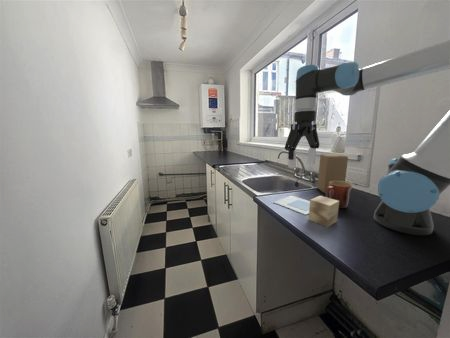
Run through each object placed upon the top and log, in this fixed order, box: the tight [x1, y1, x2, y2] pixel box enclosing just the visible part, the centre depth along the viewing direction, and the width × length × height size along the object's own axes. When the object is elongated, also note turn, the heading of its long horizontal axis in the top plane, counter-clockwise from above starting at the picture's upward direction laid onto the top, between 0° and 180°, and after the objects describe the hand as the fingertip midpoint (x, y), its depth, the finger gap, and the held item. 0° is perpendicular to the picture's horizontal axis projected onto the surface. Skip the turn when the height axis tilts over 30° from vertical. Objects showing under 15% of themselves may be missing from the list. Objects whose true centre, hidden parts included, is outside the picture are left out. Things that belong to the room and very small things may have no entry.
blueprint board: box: [273, 195, 310, 216], centre depth 83 cm, size 16×14×1 cm
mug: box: [325, 181, 354, 209], centre depth 80 cm, size 12×9×10 cm
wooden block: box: [316, 153, 349, 195], centre depth 98 cm, size 10×10×20 cm
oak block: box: [308, 195, 340, 228], centre depth 68 cm, size 7×7×8 cm
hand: (302, 165), depth 75 cm, fingers open, 13 cm apart
